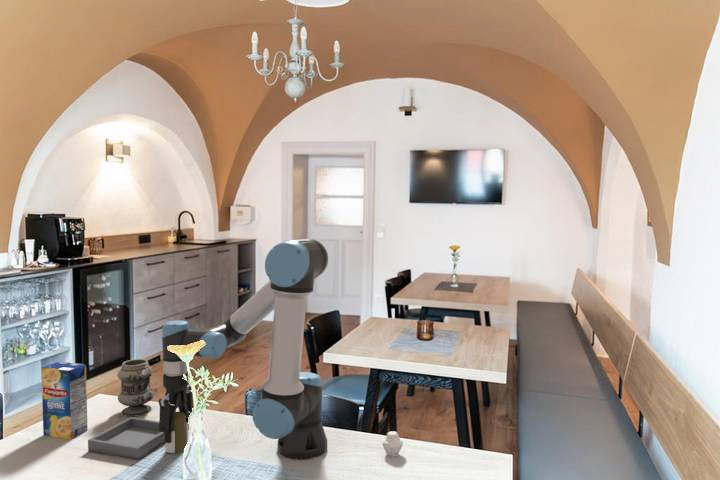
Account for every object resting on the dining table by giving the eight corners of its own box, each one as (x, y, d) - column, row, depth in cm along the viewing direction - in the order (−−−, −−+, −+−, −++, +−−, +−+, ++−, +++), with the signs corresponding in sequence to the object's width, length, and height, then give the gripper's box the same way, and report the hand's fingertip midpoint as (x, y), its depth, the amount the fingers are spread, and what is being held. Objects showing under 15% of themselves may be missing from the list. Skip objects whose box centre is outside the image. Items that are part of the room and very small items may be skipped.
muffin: (400, 460, 154) (400, 437, 153) (379, 457, 156) (380, 434, 155) (404, 451, 160) (405, 428, 159) (385, 448, 162) (385, 425, 161)
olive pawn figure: (181, 454, 157) (180, 417, 156) (162, 451, 158) (162, 416, 157) (191, 445, 163) (191, 410, 162) (173, 443, 164) (173, 408, 163)
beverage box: (71, 439, 166) (69, 370, 165) (43, 435, 169) (41, 367, 168) (87, 430, 173) (86, 364, 171) (60, 426, 176) (58, 361, 174)
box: (177, 434, 170) (177, 424, 170) (138, 460, 153) (137, 448, 152) (131, 427, 175) (130, 417, 175) (88, 451, 158) (87, 439, 158)
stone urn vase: (135, 403, 197) (134, 355, 196) (161, 407, 193) (161, 359, 192) (110, 415, 185) (109, 364, 184) (137, 420, 181) (136, 368, 180)
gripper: (184, 362, 169) (185, 432, 171) (144, 381, 151) (145, 459, 153) (205, 364, 167) (206, 436, 168) (166, 383, 149) (167, 463, 150)
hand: (177, 447), depth 160 cm, fingers closed on olive pawn figure, 6 cm apart
